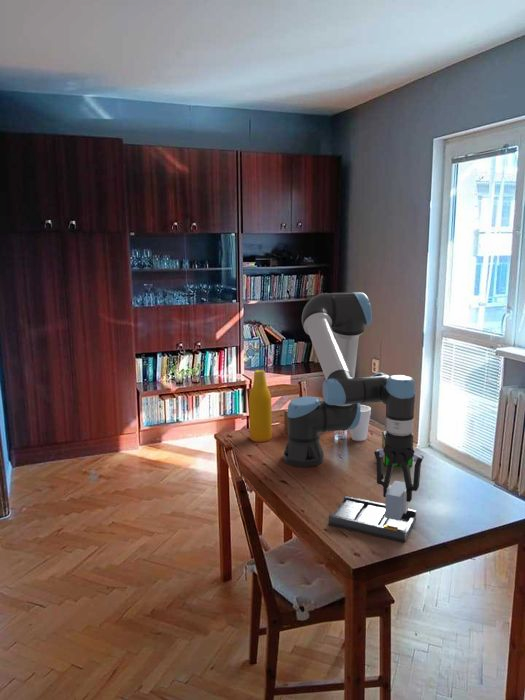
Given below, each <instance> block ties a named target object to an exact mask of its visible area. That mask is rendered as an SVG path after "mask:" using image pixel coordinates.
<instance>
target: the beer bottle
mask: <svg viewBox="0 0 525 700" xmlns="http://www.w3.org/2000/svg"><path fill="white" fill-rule="evenodd" d="M252 384H253V385H252V388H251V389H250V392H249V396H248V404H249V405H248V406H249V437H250V440H252V441H253V442H259V443H263V442H268V441H270V440H271V439H272V438H273V430H272V429H273V426H272V425H273V424H272V423H273V422H272V395H271V392H270V389H269V387H268V385H267V379H266V371H265V370H264V369H256V370H254V373H253V383H252Z"/></svg>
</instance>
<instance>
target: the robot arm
mask: <svg viewBox="0 0 525 700" xmlns="http://www.w3.org/2000/svg"><path fill="white" fill-rule="evenodd" d="M372 319H373V311H372V305H371V302H370V299H369V297H368V296H367V294H366V293H364V292H362V291H361V292H360V291H359V292H358V291H348V292H346V291H345V292H331V293H329V292H325V293H324V292H322V293H319V294H316V295H314V296H313V297H312V298H311V299H309V300H308V302H306V304H305V306H304V307H303V310H302V314H301V325H302V328H303V330H304V332H305V334H306V335H308V336H309V338H310V340H311V344H312V346H313V348H314V351H315V354H316V357H317V359H318V362H319V364H320V367H321V370H322V372H323V375H324V378H325V380H323V382H322V390H321V391H322V398H324V401H319V399H318V398H317V397H318V396H309V395H308V396H299V397H298V398H294V399H292V400H291V401H289V403H288V405H287V410H288V413H287V416H288V433H287V442H286V445H285V448H284V451H283V461H284V462H285V463H286V464H288V465H291V466H293V467H301V468H302V467H303V468H304V467H305V468H306V467H307V468H309V467H314V466H317V465H320V464H322V463H323V462H324V459H325V456H324V455H325V454H324V450H323V447H322V444H321V442H320V436H319V432H325V433H326V432H335V431H336V432H337V431H345V432H346V431H347V430H348V431H349V430H350V429H354V428H355V427H356V426H357V425H358V423H359V421H360V416H361V411H360V409H361V407H360V405H361V404H368V403H369V404H370V403H371V404H372V403H383V404H385V431H386V432H385V447H384V448H383V449H382V448H377V449H376V450H375V451H374V452H373V453H374V457H375V459H376V484H377V485H380V486H382V487H383V488H382V491H383V494H382V496H383V498H386V493H387V491H388V490H389V489H390V487H391V486H392V484H390V483H391V479H392V474H393V471H394V467H395V466H394V464H400V465H401V466H400V468H401V469H402V473H403V480H404V482H405V485H406V489H405V490H404V496H403V513H405V514H406V512H407V510H408V509H409V503H411V502H412V499H413V491H414V492H417V491H418V490H419V488H420V480H421V479H420V478H421V468H422V465H421V464H422V462H423V460H424V455H422V454H417V453H415V450H414V427H415V426H414V425H415V424H414V423H415V402H416V401H415V398H416V397H415V395H416V386H415V385H416V384H415V383H416V382H415V379H414V378H413V377H412V376H408V375H405V374H394V375H393V374H392V375H390V374H387V373H384V372H377V373H374V374H373V375H371V376H360V377H355V376H356V368H357V367H356V366H357V356H358V347H359V342H360V341H359V338H360V336H361V335H363V334H364V332H365V327H368V326H370V325H371V323H372V321H373V320H372ZM384 453H385V455H386V456H387V458H388V459H389V462H388V466H386V471H385V476H384V462H383V455H384ZM412 457H413V462H414V470H413V480H412V477H411V471H410V466H409V460H410V459H411V458H412ZM412 481H413V482H412Z"/></svg>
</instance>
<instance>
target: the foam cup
mask: <svg viewBox="0 0 525 700" xmlns="http://www.w3.org/2000/svg"><path fill="white" fill-rule="evenodd" d="M360 407H361V409H360V411H361V416H360V421H359V423H358V425H357V426H356V427H355V428H354V429H349V430H350V431H349V433H350V437H351V439H352V440H353V441H356V442H362V441H366V440H367V438H368V433H369V431H368V430H369V425H370V419H371V415H372V412H371V411H372V408H371V406H369V405H364V404H360Z"/></svg>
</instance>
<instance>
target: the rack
mask: <svg viewBox="0 0 525 700" xmlns="http://www.w3.org/2000/svg"><path fill="white" fill-rule="evenodd" d="M416 519H417V510H415V509H411V508H408V510H407V512H406V514H405V513H403V515H402V517H401V519H400V520H394V519H390V518H385V503H383V502H377V501H372V500H368V499H363V498H359V497H358V498H357V497H354V496H353V497H352V496H348V495H344V496H343V501H342V502H341V503H340V504H339V506H338V507H337V508H336V510H334V512H333V513H332V514H329V515H328V526H331V527H335V528H338V529H339V528H340V529H343V530H348V531H352V532H356V533H359V534H364V535H369V536H373V537H378V538H382V539H386V540H392V541H396V542H398V543H406V541H407V539H408V536H409V534H410V533H411V530H412V528H413V526H414V525H415V523H416Z"/></svg>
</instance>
